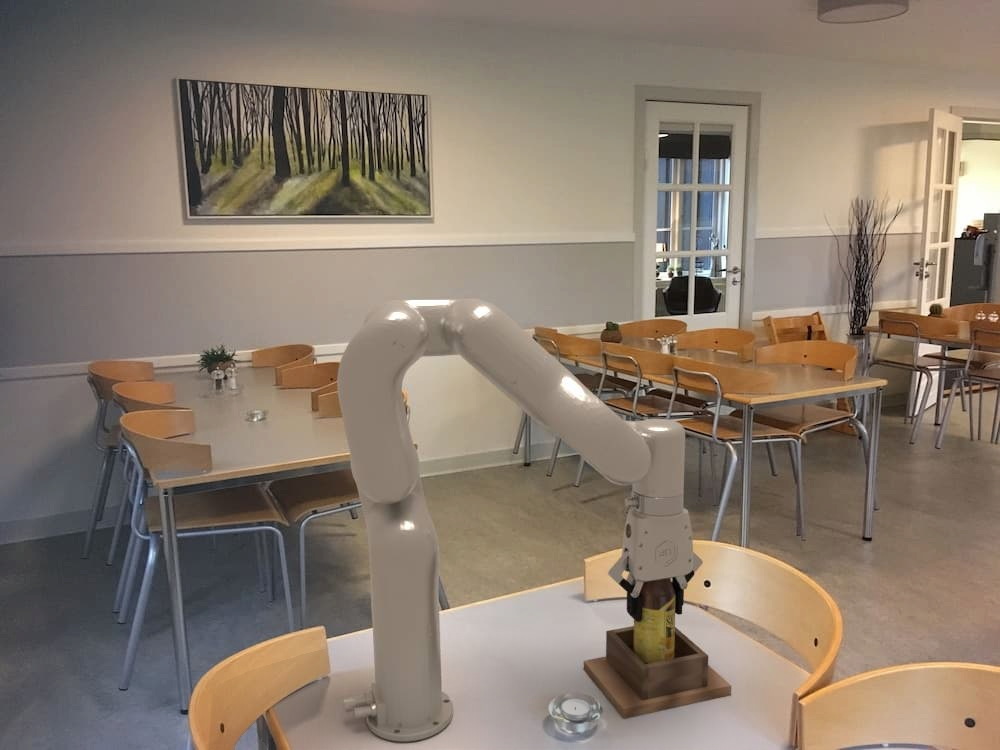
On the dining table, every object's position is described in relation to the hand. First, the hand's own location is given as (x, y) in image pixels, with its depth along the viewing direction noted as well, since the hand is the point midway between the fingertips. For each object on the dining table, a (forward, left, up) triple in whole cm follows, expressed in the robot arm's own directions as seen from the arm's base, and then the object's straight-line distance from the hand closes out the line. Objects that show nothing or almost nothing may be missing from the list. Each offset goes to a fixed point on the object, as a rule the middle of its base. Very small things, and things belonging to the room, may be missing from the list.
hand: (655, 613), depth 119 cm
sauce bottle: (0, 0, -9) cm, 9 cm away
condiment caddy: (0, 0, -11) cm, 11 cm away
